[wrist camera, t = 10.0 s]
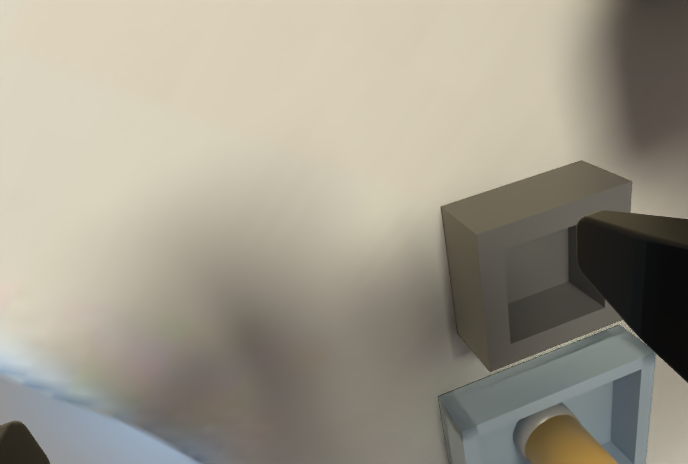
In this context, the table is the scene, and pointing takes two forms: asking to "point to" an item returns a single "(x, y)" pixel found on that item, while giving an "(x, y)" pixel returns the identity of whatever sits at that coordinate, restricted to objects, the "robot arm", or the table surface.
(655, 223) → the robot arm
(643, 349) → the tray
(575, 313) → the holder
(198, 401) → the table surface
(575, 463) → the fuse
